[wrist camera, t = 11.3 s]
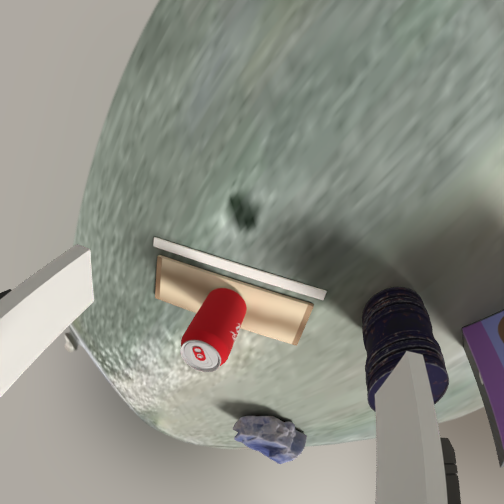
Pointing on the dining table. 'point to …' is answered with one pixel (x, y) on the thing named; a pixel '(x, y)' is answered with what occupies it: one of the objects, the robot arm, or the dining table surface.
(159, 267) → the board
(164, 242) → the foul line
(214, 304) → the beverage can
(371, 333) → the dark blue cylinder
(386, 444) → the robot arm
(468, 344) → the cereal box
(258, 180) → the dining table surface
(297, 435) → the mineral
